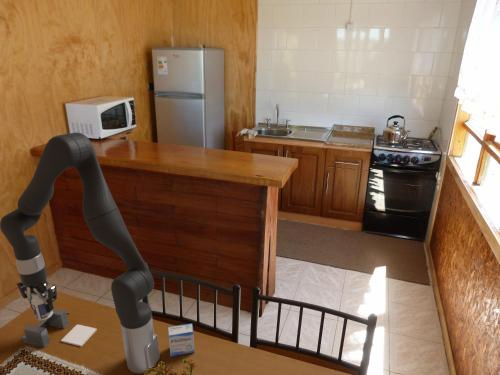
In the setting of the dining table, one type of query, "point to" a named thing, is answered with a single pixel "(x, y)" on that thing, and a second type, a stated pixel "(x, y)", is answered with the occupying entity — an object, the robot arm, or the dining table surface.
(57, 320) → the dumbbell
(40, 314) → the pill bottle
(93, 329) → the mat
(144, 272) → the robot arm
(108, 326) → the dining table surface
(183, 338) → the medicine box
